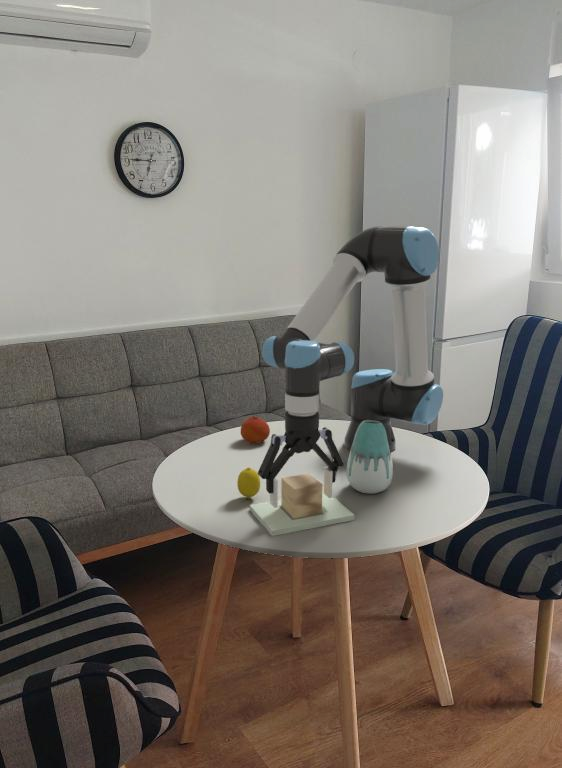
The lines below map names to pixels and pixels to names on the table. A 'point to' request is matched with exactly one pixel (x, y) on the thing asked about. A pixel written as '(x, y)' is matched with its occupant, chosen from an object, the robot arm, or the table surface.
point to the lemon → (248, 483)
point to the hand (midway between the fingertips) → (301, 500)
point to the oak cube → (301, 495)
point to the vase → (370, 459)
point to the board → (284, 523)
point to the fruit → (255, 430)
